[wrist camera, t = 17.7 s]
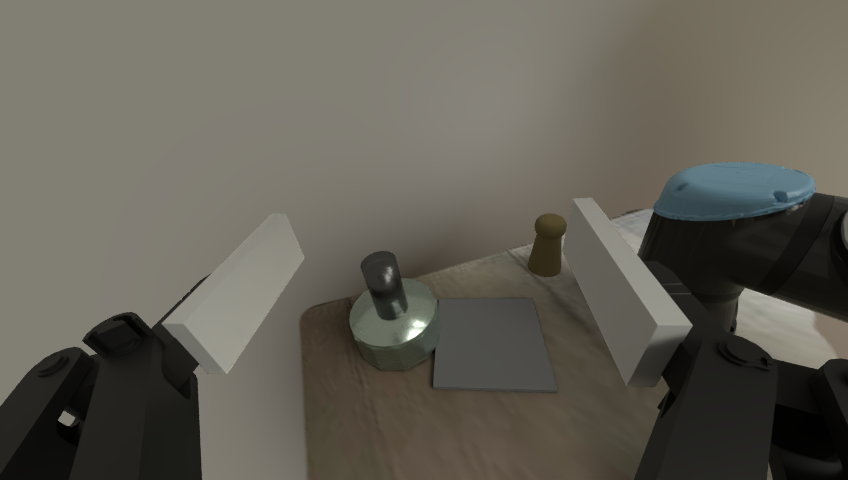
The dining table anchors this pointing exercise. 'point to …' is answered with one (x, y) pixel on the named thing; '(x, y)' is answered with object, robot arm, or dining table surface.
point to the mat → (492, 347)
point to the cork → (547, 245)
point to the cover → (394, 316)
